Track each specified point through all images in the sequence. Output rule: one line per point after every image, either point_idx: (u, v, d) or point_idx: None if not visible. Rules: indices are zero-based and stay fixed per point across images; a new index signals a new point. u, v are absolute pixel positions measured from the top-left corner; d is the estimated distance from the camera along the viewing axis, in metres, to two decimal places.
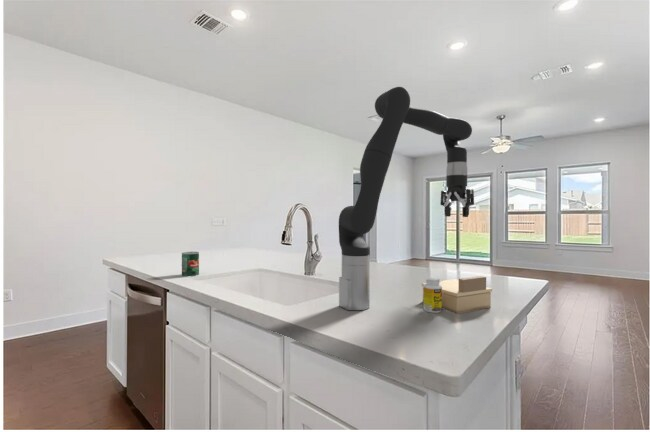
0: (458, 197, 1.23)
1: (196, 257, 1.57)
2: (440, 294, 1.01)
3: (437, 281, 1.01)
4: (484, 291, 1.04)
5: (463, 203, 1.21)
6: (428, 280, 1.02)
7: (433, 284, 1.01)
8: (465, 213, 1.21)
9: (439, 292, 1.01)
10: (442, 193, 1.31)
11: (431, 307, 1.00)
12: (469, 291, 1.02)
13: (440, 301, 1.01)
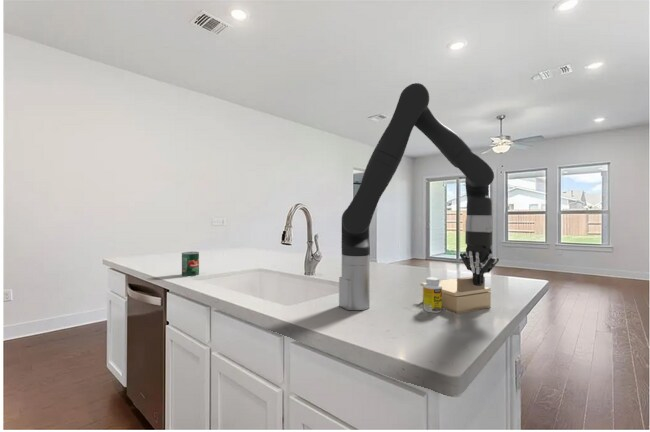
0: (477, 260, 1.00)
1: (196, 257, 1.57)
2: (440, 294, 1.01)
3: (437, 281, 1.01)
4: (482, 291, 1.05)
5: (476, 269, 1.00)
6: (428, 280, 1.02)
7: (433, 284, 1.01)
8: (479, 282, 1.00)
9: (439, 292, 1.01)
10: (462, 256, 1.05)
11: (431, 307, 1.00)
12: (467, 291, 1.02)
13: (440, 301, 1.01)
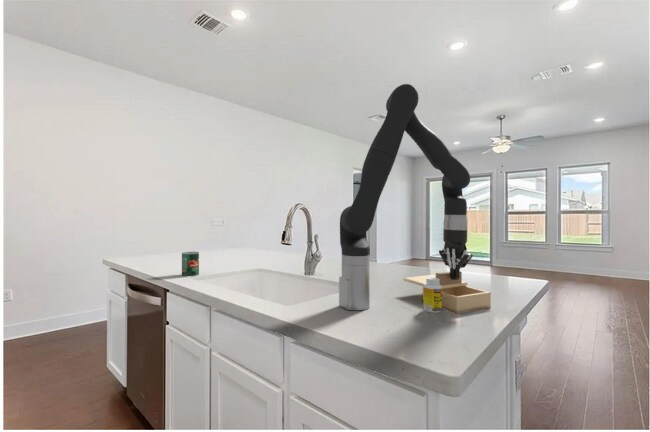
0: (453, 256, 1.08)
1: (196, 257, 1.57)
2: (440, 294, 1.01)
3: (437, 281, 1.01)
4: (459, 285, 1.13)
5: (453, 265, 1.09)
6: (428, 280, 1.02)
7: (433, 284, 1.01)
8: (455, 276, 1.09)
9: (439, 292, 1.01)
10: (441, 252, 1.14)
11: (431, 307, 1.00)
12: (445, 284, 1.11)
13: (440, 301, 1.01)
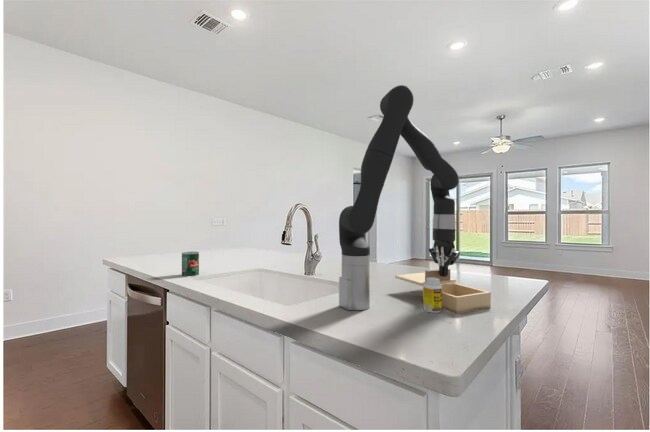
0: (442, 254, 1.13)
1: (196, 257, 1.57)
2: (440, 294, 1.01)
3: (437, 281, 1.01)
4: (448, 282, 1.18)
5: (442, 262, 1.14)
6: (428, 280, 1.02)
7: (433, 284, 1.01)
8: (444, 273, 1.13)
9: (439, 292, 1.01)
10: (430, 251, 1.19)
11: (431, 307, 1.00)
12: None
13: (440, 301, 1.01)
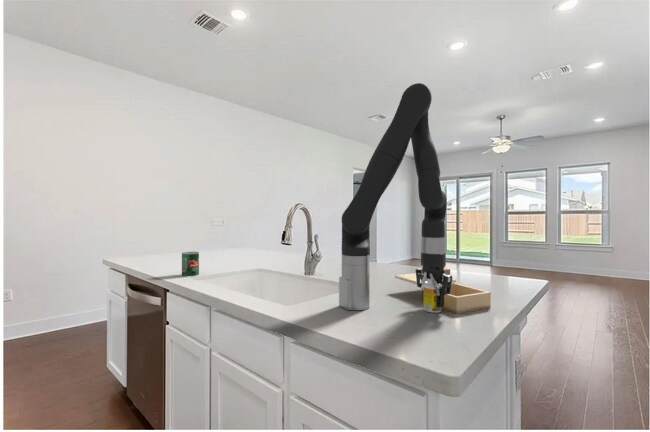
0: (433, 281, 1.00)
1: (196, 257, 1.57)
2: None
3: None
4: None
5: (437, 291, 0.99)
6: (428, 280, 1.02)
7: None
8: (439, 303, 0.99)
9: None
10: (417, 272, 1.08)
11: (431, 307, 1.00)
12: None
13: None
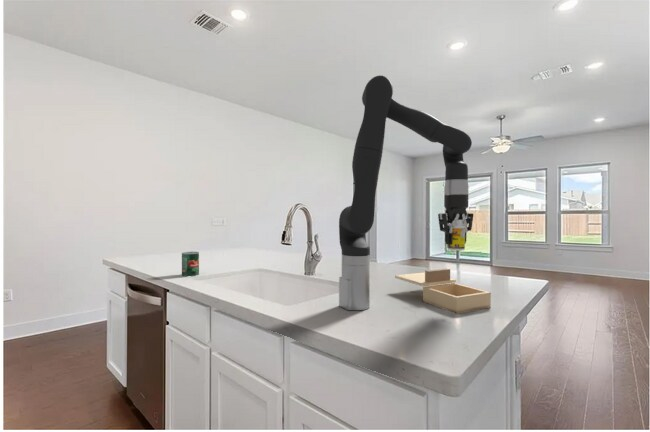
0: None
1: (196, 257, 1.57)
2: None
3: None
4: (448, 282, 1.18)
5: None
6: None
7: None
8: None
9: None
10: None
11: (447, 244, 1.11)
12: (434, 281, 1.15)
13: None
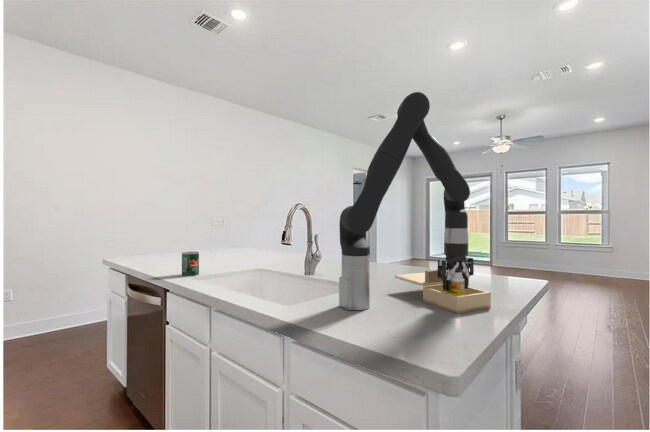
0: None
1: (196, 257, 1.57)
2: (451, 286, 1.08)
3: None
4: None
5: None
6: None
7: None
8: None
9: (450, 283, 1.08)
10: None
11: None
12: (434, 281, 1.15)
13: (451, 292, 1.08)
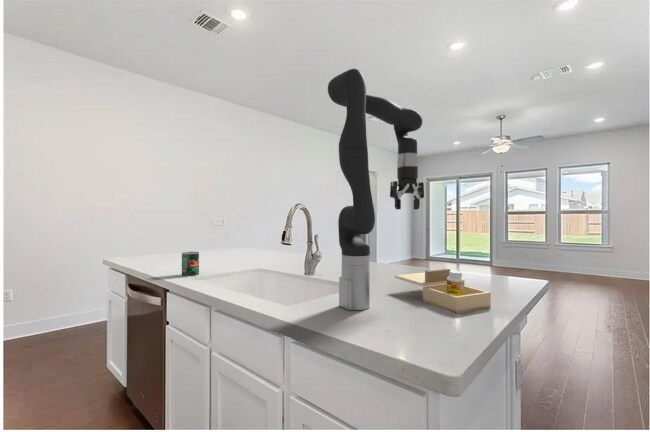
0: None
1: (196, 257, 1.57)
2: (451, 286, 1.08)
3: (451, 273, 1.09)
4: None
5: None
6: None
7: (449, 276, 1.10)
8: None
9: (450, 283, 1.08)
10: None
11: None
12: (434, 281, 1.15)
13: (451, 292, 1.08)
